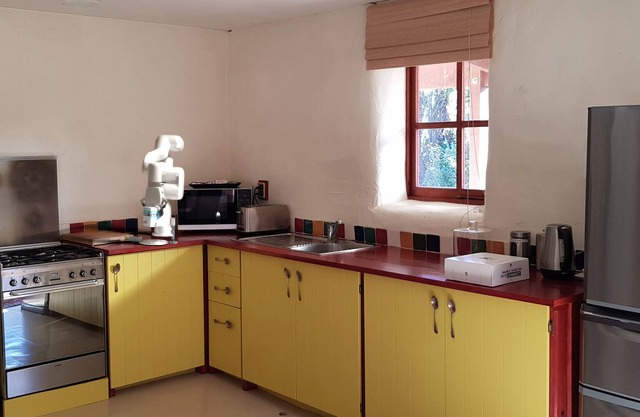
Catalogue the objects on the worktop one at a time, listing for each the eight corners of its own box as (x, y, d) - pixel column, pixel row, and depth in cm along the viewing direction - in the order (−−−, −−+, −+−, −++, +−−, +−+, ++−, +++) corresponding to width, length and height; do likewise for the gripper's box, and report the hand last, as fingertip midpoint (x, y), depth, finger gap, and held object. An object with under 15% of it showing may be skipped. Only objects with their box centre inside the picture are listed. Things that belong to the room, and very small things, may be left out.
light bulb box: (150, 227, 415) (151, 207, 414) (142, 225, 419) (143, 206, 418) (165, 225, 424) (165, 206, 423) (157, 224, 428) (157, 205, 427)
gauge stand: (169, 242, 430) (169, 217, 428) (177, 243, 428) (177, 217, 427) (166, 243, 426) (166, 217, 425) (174, 244, 425) (174, 218, 423)
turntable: (131, 239, 435) (131, 233, 435) (172, 242, 428) (172, 237, 428) (117, 242, 420) (117, 237, 419) (159, 246, 413) (159, 241, 413)
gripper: (171, 185, 420) (171, 216, 422) (144, 183, 425) (143, 214, 427) (165, 186, 413) (164, 217, 415) (137, 184, 418) (136, 215, 420)
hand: (154, 215), depth 421 cm, fingers closed on light bulb box, 8 cm apart
